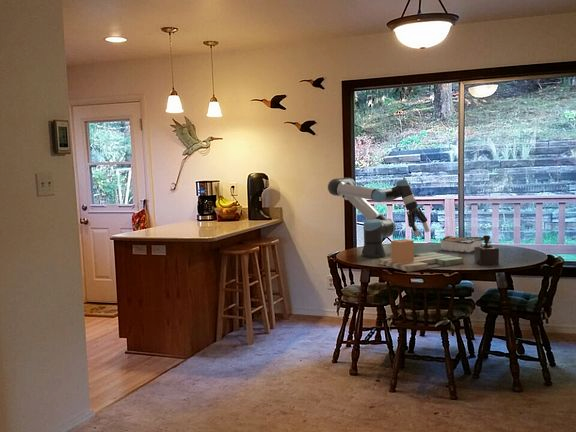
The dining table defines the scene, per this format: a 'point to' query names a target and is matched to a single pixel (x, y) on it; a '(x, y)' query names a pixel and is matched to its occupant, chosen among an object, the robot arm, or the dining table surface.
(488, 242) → the brown manual coffee grinder
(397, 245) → the terracotta block
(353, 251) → the dining table surface
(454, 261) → the board
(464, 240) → the food packaging
